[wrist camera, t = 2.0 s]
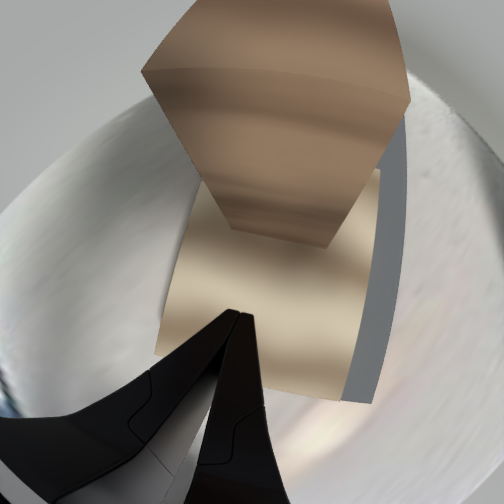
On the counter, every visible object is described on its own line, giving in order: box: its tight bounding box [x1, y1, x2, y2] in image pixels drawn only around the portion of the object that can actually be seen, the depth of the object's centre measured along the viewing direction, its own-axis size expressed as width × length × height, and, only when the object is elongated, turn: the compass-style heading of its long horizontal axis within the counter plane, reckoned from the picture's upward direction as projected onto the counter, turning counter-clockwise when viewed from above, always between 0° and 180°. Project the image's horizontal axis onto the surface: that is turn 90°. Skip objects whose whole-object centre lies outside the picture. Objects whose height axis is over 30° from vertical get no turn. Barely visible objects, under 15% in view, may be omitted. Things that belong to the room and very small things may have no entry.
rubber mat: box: [341, 115, 407, 404], centre depth 20 cm, size 26×15×1 cm, turn 166°
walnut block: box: [141, 0, 411, 249], centre depth 12 cm, size 7×6×13 cm
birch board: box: [154, 168, 380, 401], centre depth 18 cm, size 16×12×2 cm
